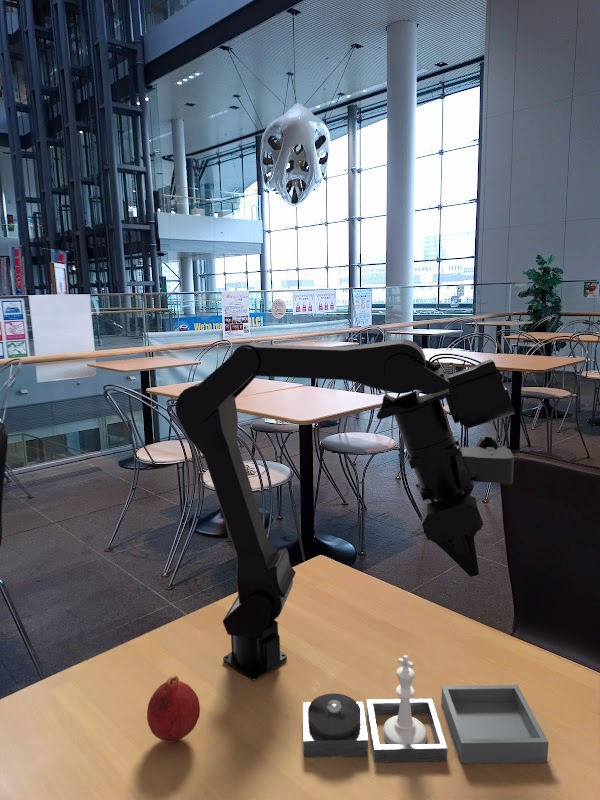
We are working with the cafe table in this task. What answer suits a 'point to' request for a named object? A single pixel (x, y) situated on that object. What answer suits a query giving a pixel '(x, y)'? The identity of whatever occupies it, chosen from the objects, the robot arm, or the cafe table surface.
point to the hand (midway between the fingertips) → (471, 557)
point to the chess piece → (404, 712)
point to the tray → (493, 725)
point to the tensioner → (364, 729)
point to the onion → (173, 710)
